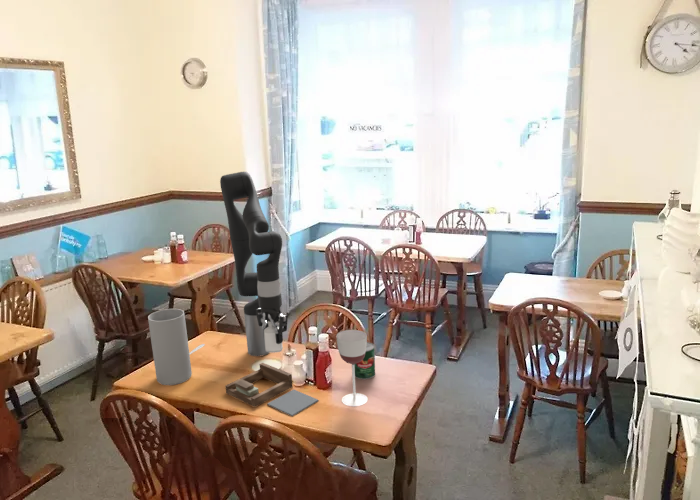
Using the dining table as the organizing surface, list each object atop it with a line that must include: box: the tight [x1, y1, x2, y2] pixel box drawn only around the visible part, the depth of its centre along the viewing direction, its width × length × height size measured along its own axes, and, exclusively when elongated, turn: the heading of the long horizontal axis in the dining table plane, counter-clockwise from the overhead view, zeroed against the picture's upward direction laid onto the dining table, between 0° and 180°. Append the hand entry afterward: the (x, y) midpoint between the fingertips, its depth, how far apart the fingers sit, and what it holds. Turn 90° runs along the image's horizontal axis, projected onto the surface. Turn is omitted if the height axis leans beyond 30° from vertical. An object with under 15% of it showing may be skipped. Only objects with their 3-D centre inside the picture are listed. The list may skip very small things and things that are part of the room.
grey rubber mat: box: [267, 389, 320, 417], centre depth 190 cm, size 12×12×1 cm
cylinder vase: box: [147, 308, 193, 386], centre depth 208 cm, size 12×12×25 cm
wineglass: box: [336, 329, 369, 407], centre depth 187 cm, size 9×10×23 cm
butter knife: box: [189, 343, 206, 355], centre depth 229 cm, size 1×27×3 cm
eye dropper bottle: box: [264, 321, 284, 354], centre depth 189 cm, size 4×6×12 cm
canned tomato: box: [354, 341, 376, 380], centre depth 206 cm, size 8×8×11 cm
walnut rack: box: [224, 362, 293, 408], centre depth 199 cm, size 17×16×5 cm
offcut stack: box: [234, 380, 260, 397], centre depth 195 cm, size 4×9×5 cm, turn 48°
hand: (273, 340), depth 190 cm, fingers closed on eye dropper bottle, 5 cm apart
